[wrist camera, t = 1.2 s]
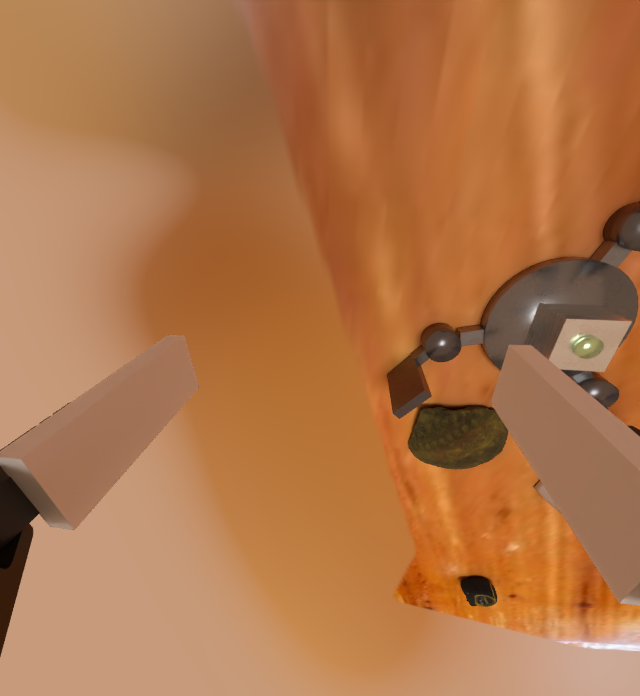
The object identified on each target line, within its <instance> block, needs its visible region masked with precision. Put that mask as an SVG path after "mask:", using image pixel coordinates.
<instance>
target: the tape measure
mask: <svg viewBox="0 0 640 696" xmlns="http://www.w3.org/2000/svg"><path fill="white" fill-rule="evenodd" d="M461 588H462V590H463V592H464V594H465V595H466V598H467V601H468V602H469V604H470V605H471V606H477V605H478V606H483V607H488V606H492V605H494V604H495V603H496V602H497V594H496V591H495V588H494V586H493V585H492V584H491V583H490V582H489V581H488V580H486V579H483V578H478V577H473V578H469V579H464V580H462V581H461Z"/></svg>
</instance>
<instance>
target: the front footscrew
mask: <svg viewBox="0 0 640 696" xmlns="http://www.w3.org/2000/svg"><path fill="white" fill-rule="evenodd" d="M421 342H422V345H421V346H420V347H418V348H417V349H416V350H415V351H414V352H412V353H411V355H410V356H408V357H407V358H406V359H405V360H404V361H402V362H401V363H400V364H399V365H397V366H396V367H395V368H394V369H393V370H391V371H390V372H389V373H388V374H387V377H388V384H389V391H390V397H391V404H392V411H393V414H394V415H396V416H397V417H398V418H399V419H400V418H402V417H403V416H404V415H406V414H407V413H409V412H410V411H411V410H413V409H414V408H416V407H417V406H419V405H420V404H421V403H423V402H424V401H426V400H427V399H428V398H430V397H431V396H432V395H431V392H430V390H429V387H428V384H427V381H426V379H425V376H424V373H423V370H422V368H421V365H422V364H423V363H424V362H425V361H427V360H428V359H429V358H430V359H431V360H433V361H436V362H446V361H449V360H452V359H453V358H455V357H456V356H457V355H458V354H459V352H460V350H461V341H460V339H459V337H458V336H457V334H456V333H455V332H454V330H453V329H452V328H451V327H450V326H449V325H447V324H444V323H435V324H432V325H430V326H428V327H427V328H426V329H425V330H424V331H423V333H422V336H421Z"/></svg>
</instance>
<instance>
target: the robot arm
mask: <svg viewBox="0 0 640 696" xmlns="http://www.w3.org/2000/svg"><path fill="white" fill-rule="evenodd" d="M198 388H199V385H198V382H197V378H196V375H195V372H194V368H193V365H192V361H191V357H190V354H189V351H188V347H187V343H186V340H185V336H182V335H168V336H166V337H165V338H163V339H162V340H161V341H159V342H158V343H156V344H155V345H153V346H152V347H150V348H149V349H147V350H146V351H144V352H143V353H142V354H140V355H139V356H137V357H136V358H135V359H133V360H131V361H130V362H129V363H127V364H126V365H124V366H123V367H121V368H120V369H118V370H117V371H116V372H115V373H113V374H111V375H110V376H108V377H107V378H105V379H104V380H103V381H101V382H100V383H98V384H97V385H95V386H94V387H92V388H91V389H89V390H88V391H87V392H85V393H84V394H82V395H81V396H79V397H78V398H77V399H75V400H73V401H72V402H70V403H68V404H67V405H65V406H64V407H62V408H61V409H59V410H58V411H56V412H55V413H54V414H53V415H52V416H49V417H48V418H46V419H45V420H43V421H42V422H40V424H39V425H37V426H35V427H33V428H32V429H30V430H29V431H27V432H26V433H24V434H23V435H22V436H20V437H19V438H17V439H16V440H14V441H13V442H11V443H10V444H8V445H7V446H6V447H4V448H3V449H1V450H0V656H1V652H2V648H3V645H4V641H5V637H6V634H7V630H8V626H9V623H10V619H11V615H12V611H13V608H14V604H15V600H16V597H17V593H18V589H19V585H20V582H21V578H22V574H23V571H24V567H25V563H26V559H27V555H28V552H29V548H30V545H31V541H32V537H33V528H32V526H31V525H30V524H29V523H30V522H31V521H32V520H33V519H34V518H35V517H36V516H37V515H38V514H40V515H41V516H42V518H43V519H44V520H45V521H46V522H47V524H48V525H49V526H50V527H54V528H62V529H69V530H75V529H76V528H77V527H78V525H79V524H80V523H81V522H82V521H83V520H84V519H85V517H86V516H87V515H88V514H89V513H90V512H91V511H92V509H93V508H94V507H95V506H96V505H97V504H98V502H99V501H100V500H101V499H102V498H103V497H104V496H105V495H106V493H107V492H108V491H109V490H110V489H111V488H112V487H113V485H114V484H115V483H116V482H117V481H118V479H120V477H121V476H122V475H123V474H124V473H125V472H126V471H127V469H128V468H129V467H130V466H131V465H132V464H133V462H134V461H135V460H136V459H137V458H138V457H139V456H140V454H141V453H142V452H143V451H144V450H145V449H146V448H147V446H148V445H149V444H150V443H151V442H152V441H153V440H154V438H155V437H156V436H157V435H158V434H159V433H160V432H161V430H162V429H163V428H164V427H165V426H166V425H167V424H168V422H169V421H170V420H171V419H172V418H173V417H174V416H175V414H176V413H177V412H178V411H179V410H180V408H181V407H182V406H183V405H184V404H185V403H186V402H187V401H188V399H189V398H190V397H191V396H192V395H193V394H194V393H195V392H196V390H197V389H198ZM491 405H492V406H493V408H494V409H495V411H496V412H497V414H498V415H499V417H500V419H501V420H502V422H503V423H504V425H505V426H506V428H507V429H508V431H509V433H510V434H511V436H512V437H513V439H514V440H515V442H516V443H517V445H518V447H519V448H520V450H521V451H522V453H523V454H524V456H525V457H526V459H527V461H528V462H529V464H530V465H531V467H532V468H533V470H534V471H535V473H536V475H537V476H538V478H539V479H540V481H541V482H542V484H543V485H544V487H545V489H546V490H547V492H548V493H549V495H550V496H551V498H552V499H553V501H554V503H555V504H556V506H557V507H558V509H559V510H560V512H561V513H562V515H563V517H564V518H565V520H566V521H567V523H568V524H569V526H570V527H571V529H572V531H573V532H574V534H575V535H576V537H577V538H578V540H579V541H580V543H581V545H582V546H583V548H584V549H585V551H586V552H587V554H588V555H589V557H590V559H591V560H592V562H593V563H594V565H595V566H596V568H597V569H598V571H599V572H600V574H601V576H602V577H603V579H604V580H605V582H606V583H607V585H608V586H609V588H610V590H611V591H612V593H613V594H614V596H615V597H616V599H617V600H618V602H619V603H622V604H630V605H637V606H640V430H639V429H637V428H635V427H633V426H627V425H625V424H624V423H623V422H622V421H621V420H619V419H618V418H617V417H616V416H615V415H613V414H612V413H611V412H610V411H609V410H608V409H606V408H605V407H604V406H603V405H602V404H600V403H599V402H598V401H597V400H596V399H594V398H593V397H592V396H591V395H590V394H589V393H587V392H586V391H585V390H584V389H583V388H581V387H580V386H579V385H578V384H577V383H575V382H574V381H573V380H572V379H571V378H570V377H568V376H567V375H566V374H565V373H564V372H562V371H561V370H560V369H559V368H558V367H556V366H555V365H554V364H553V363H552V362H551V361H549V360H548V359H547V358H546V357H545V356H543V355H542V354H541V353H540V352H539V351H538V350H536V349H535V348H534V347H533V346H532V345H509V346H508V349H507V353H506V356H505V359H504V362H503V365H502V368H501V372H500V375H499V378H498V381H497V384H496V387H495V391H494V394H493V397H492V400H491Z"/></svg>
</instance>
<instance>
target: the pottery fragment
mask: <svg viewBox="0 0 640 696" xmlns="http://www.w3.org/2000/svg"><path fill="white" fill-rule="evenodd" d="M507 435H508V429H507V428H506V426H505V425H504V423H503V422H502V420H501V419H500V417H499V415H498V414H497V412H496V411H495V410H491V409H488V408H485V407H481V406H472V407H470V406H468V407H466V408H464V409H457V410H449V409H447V408H443V407H439V406H438V407H435V408H428V407H424V408H422V409H421V411H420V414H419V416H418V420H417V422H416V424H415V425H414V429H413V434H412V435H411V437H410V440H409V442H408V445H409V448H410V450H411V452H412V453H413V455H414V456H415V457H416V458H418V459H419V460H420V461H422V462H424V463H427V464H431V465H435V466H437V467H442V468H447V469H467V468H472V467H475V466H478V465H480V464H483V463H485V462H488V461H490V460H492V459H493V458H494V457H495V456H497V455H498V454H499V453H500V452H501V451H502V449H503V447H504V445H505V441H506V440H507Z"/></svg>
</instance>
